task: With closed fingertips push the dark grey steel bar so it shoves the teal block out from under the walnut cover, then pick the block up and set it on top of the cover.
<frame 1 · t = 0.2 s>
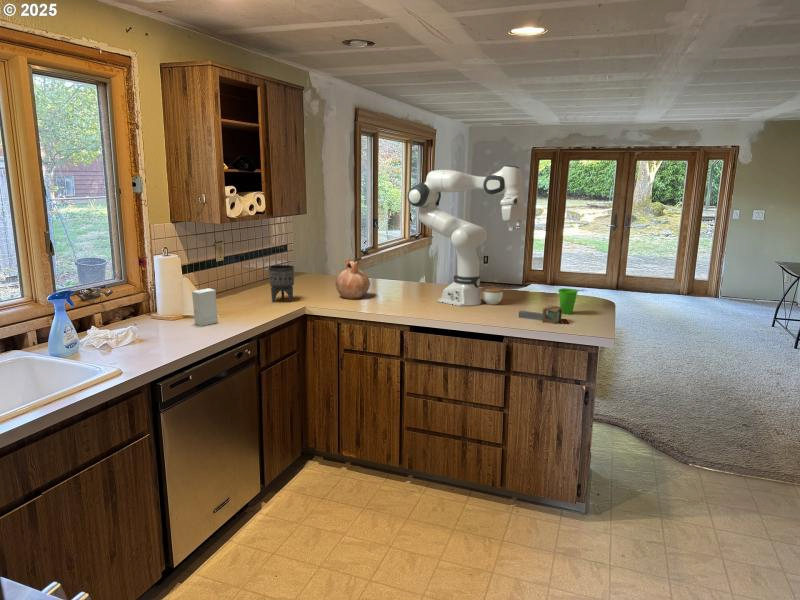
hand: (514, 230, 268), 38 cm above the worktop, tool pointing down, fingers open, 8 cm apart
lidded jar: (492, 303, 288), on the worktop
cup: (566, 313, 268), on the worktop
skincare box: (206, 324, 245), on the worktop
planter: (282, 301, 291), on the worktop
block: (552, 321, 253), on the worktop
jug: (353, 297, 301), on the worktop
cover: (551, 321, 253), on the worktop
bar: (533, 319, 258), on the worktop
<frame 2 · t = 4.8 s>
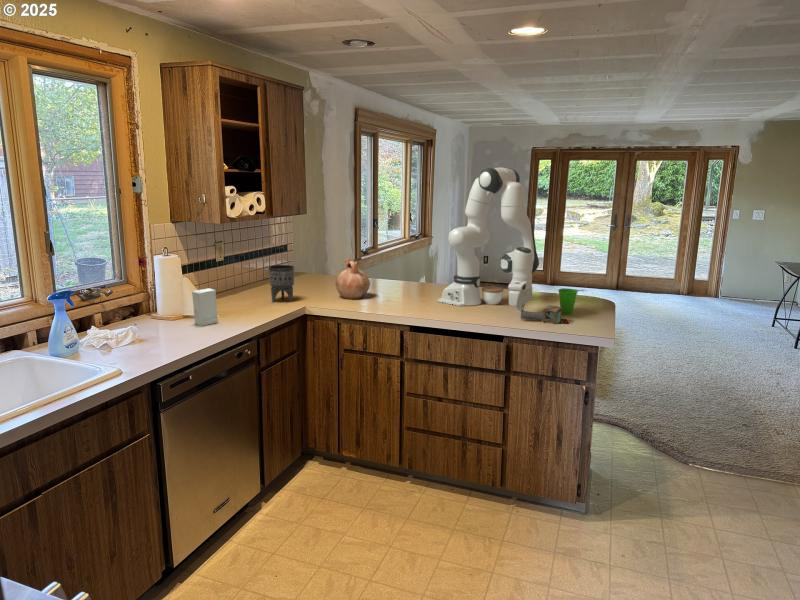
hand: (520, 313, 260), 2 cm above the worktop, tool pointing down, fingers closed
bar: (535, 319, 256), on the worktop, touching gripper
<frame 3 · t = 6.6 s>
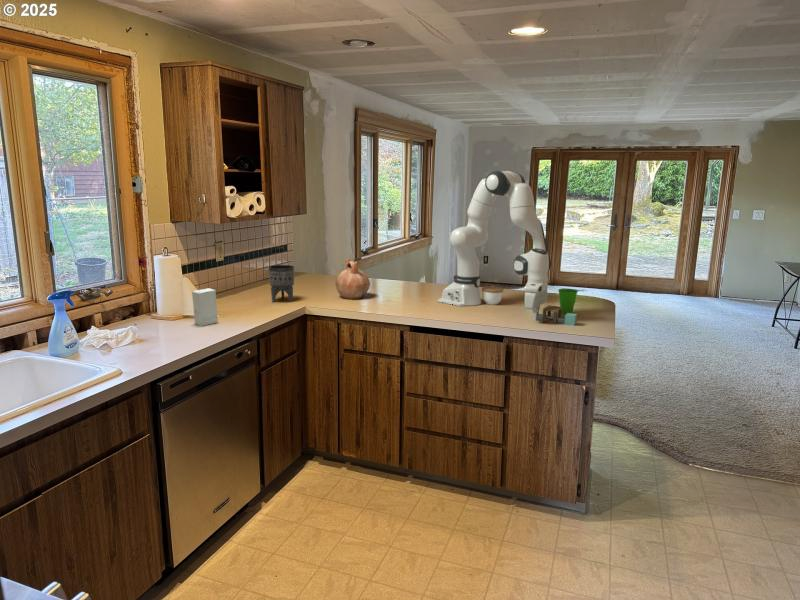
hand: (535, 315, 257), 2 cm above the worktop, tool pointing down, fingers closed
block: (570, 324, 248), on the worktop
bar: (550, 322, 252), on the worktop
everything else where it was.
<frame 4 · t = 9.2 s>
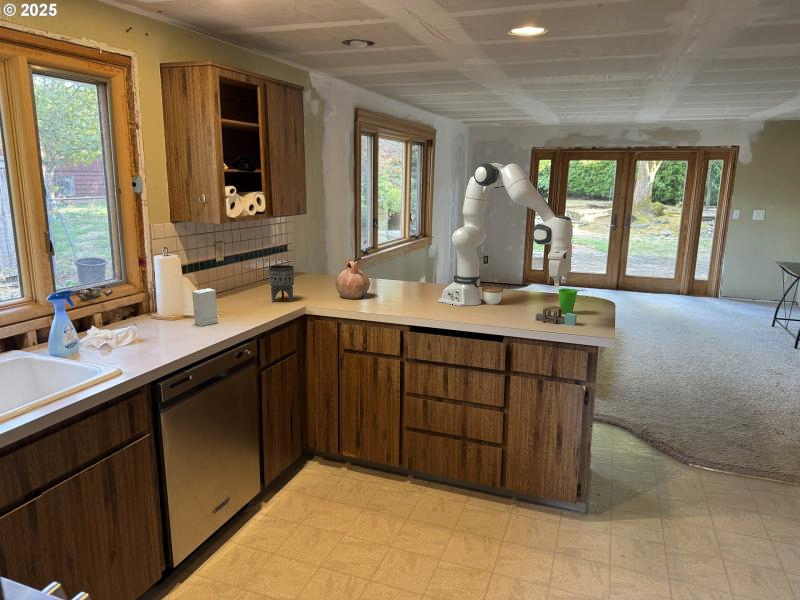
hand: (560, 284, 248), 17 cm above the worktop, tool pointing down, fingers open, 8 cm apart
nothing on the worktop moved.
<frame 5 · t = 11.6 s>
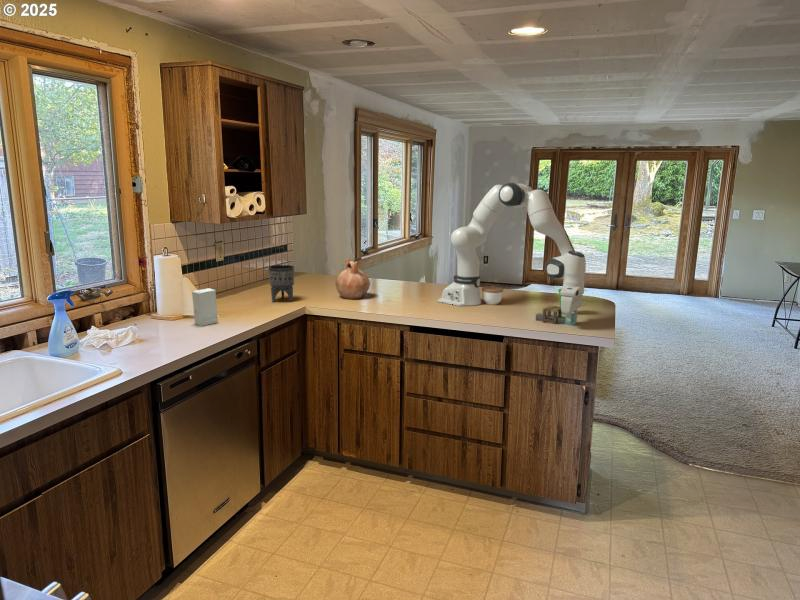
hand: (571, 320, 248), 2 cm above the worktop, tool pointing down, fingers closed on block, 4 cm apart
block: (570, 323, 249), on the worktop, touching gripper
everything else where it was.
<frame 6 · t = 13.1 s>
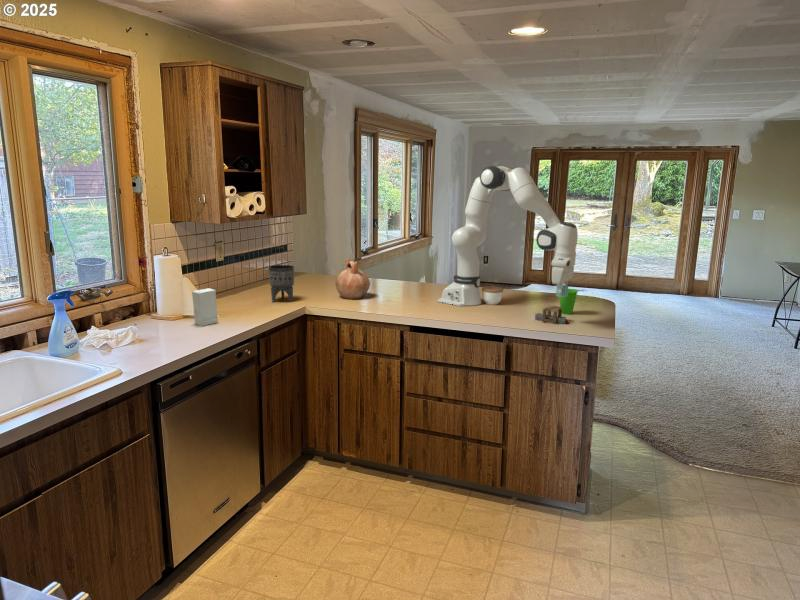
hand: (561, 291, 248), 14 cm above the worktop, tool pointing down, fingers closed on block, 4 cm apart
block: (562, 295, 248), point 12 cm above the worktop, touching gripper
when the fingers open (9 cm above the worktop, at t = 14.9 s): block stays where it is, resting on cover.
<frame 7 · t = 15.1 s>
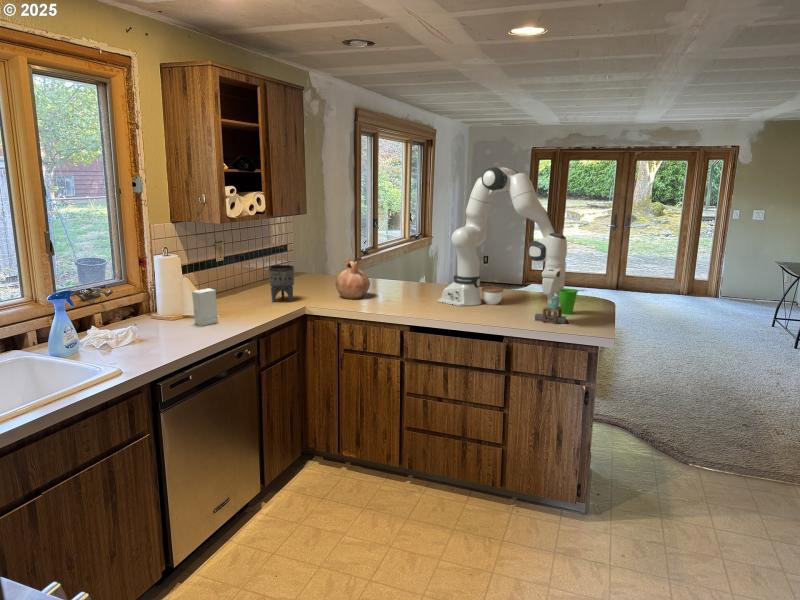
hand: (552, 301, 251), 9 cm above the worktop, tool pointing down, fingers open, 6 cm apart
block: (553, 307, 252), point 6 cm above the worktop, touching cover
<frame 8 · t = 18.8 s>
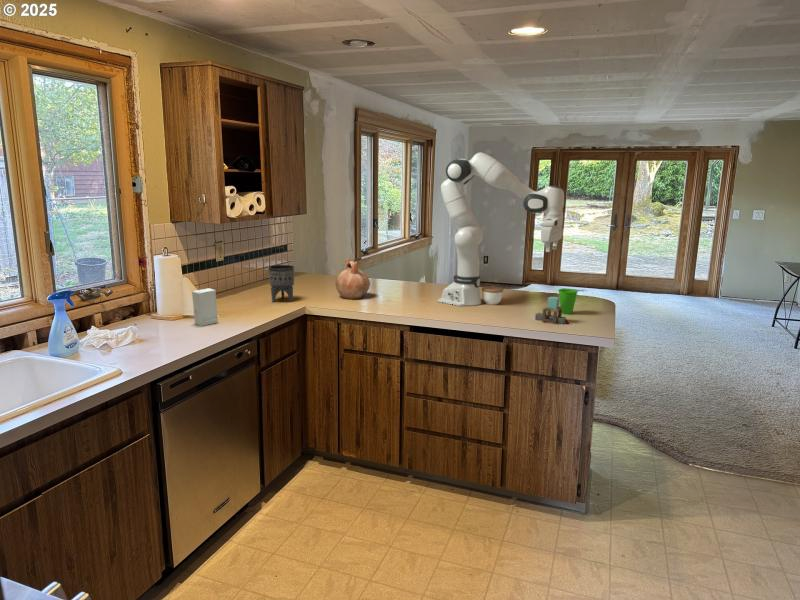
hand: (551, 250, 266), 29 cm above the worktop, tool pointing down, fingers open, 8 cm apart
at the end: block inside the target area on the cover (0.2 cm from its centre), point 6.2 cm above the cover's base; the gripper is holding nothing; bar moved 8.1 cm from its start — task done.
